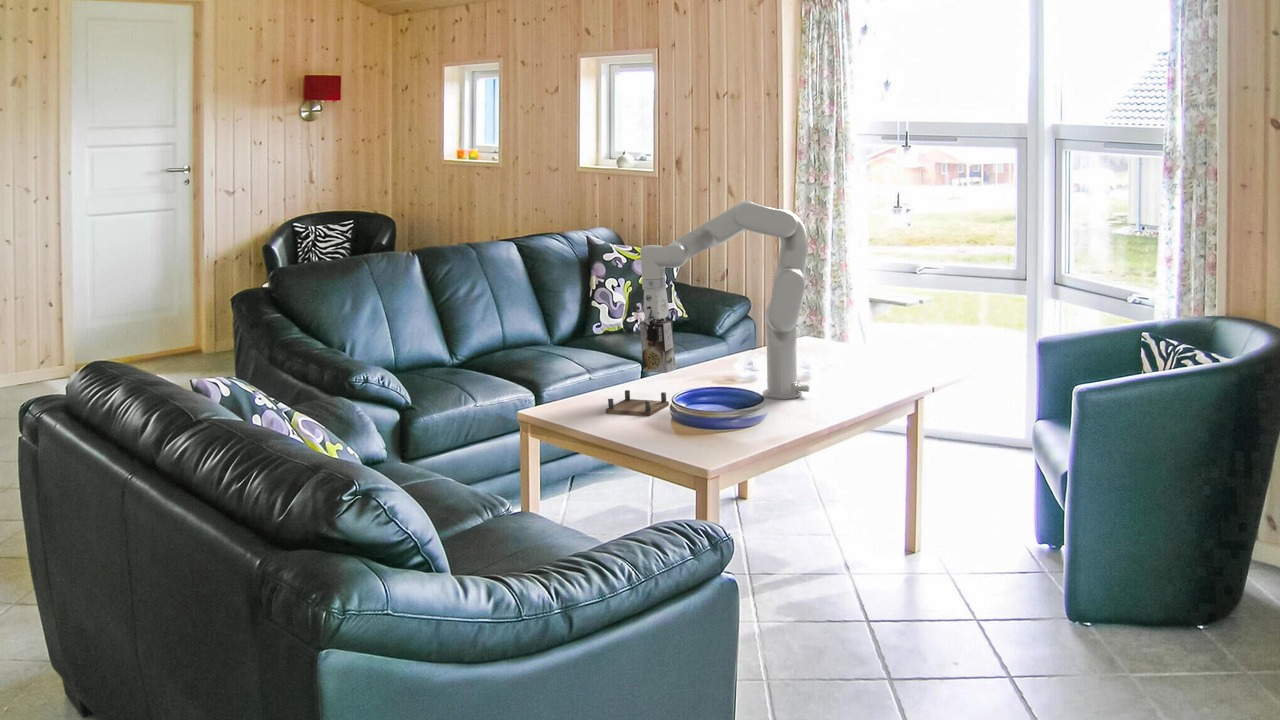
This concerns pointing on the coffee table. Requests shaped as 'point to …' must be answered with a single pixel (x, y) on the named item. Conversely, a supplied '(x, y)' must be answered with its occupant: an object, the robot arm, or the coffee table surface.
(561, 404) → the coffee table surface
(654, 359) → the coffee box
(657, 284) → the robot arm
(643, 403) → the stub cradle
